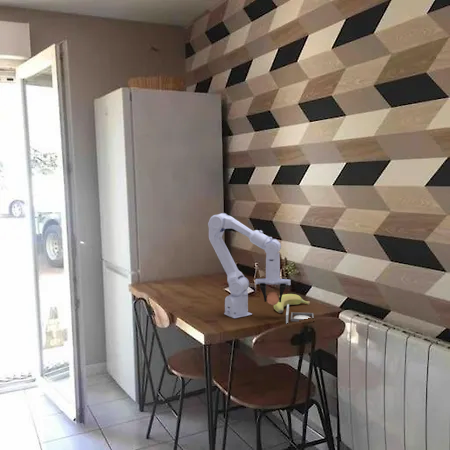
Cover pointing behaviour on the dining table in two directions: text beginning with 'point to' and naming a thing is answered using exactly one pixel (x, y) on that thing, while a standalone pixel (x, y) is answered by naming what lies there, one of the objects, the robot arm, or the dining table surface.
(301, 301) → the banana
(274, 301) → the ball
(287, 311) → the acrylic wall
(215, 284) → the dining table surface
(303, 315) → the grey square frame
